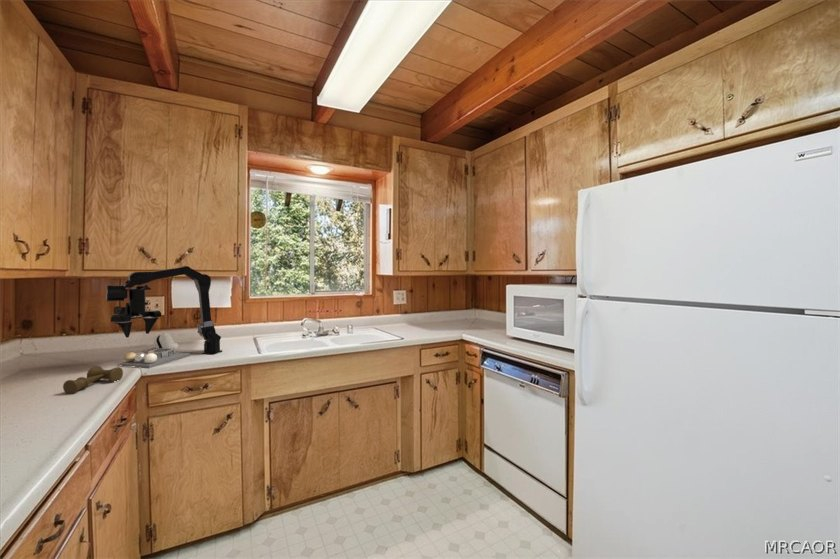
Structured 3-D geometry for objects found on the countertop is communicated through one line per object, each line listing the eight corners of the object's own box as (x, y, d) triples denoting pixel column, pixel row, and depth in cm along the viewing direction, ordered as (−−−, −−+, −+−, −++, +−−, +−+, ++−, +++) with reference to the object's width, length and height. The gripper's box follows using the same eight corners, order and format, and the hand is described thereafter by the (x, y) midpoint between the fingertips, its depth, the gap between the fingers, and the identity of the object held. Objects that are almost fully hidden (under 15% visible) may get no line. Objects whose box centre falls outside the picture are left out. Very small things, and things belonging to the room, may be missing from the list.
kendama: (55, 396, 120) (108, 375, 140) (82, 396, 119) (132, 376, 139) (54, 379, 119) (108, 361, 139) (81, 379, 119) (131, 361, 139)
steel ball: (149, 361, 156) (149, 351, 156) (140, 364, 152) (139, 354, 151) (141, 360, 157) (141, 351, 157) (131, 363, 152) (131, 353, 152)
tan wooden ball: (139, 360, 157) (139, 351, 157) (129, 363, 153) (129, 353, 152) (131, 360, 158) (131, 350, 158) (121, 363, 154) (121, 353, 153)
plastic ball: (159, 362, 155) (159, 352, 155) (150, 364, 150) (150, 354, 150) (151, 361, 156) (151, 351, 155) (142, 364, 151) (141, 354, 151)
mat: (190, 355, 170) (190, 353, 170) (149, 368, 150) (149, 365, 150) (163, 354, 173) (163, 351, 173) (119, 366, 153) (119, 363, 153)
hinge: (170, 353, 175) (162, 335, 174) (160, 357, 174) (151, 339, 172) (178, 346, 191) (170, 329, 189) (169, 349, 189) (161, 333, 187)
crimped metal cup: (180, 353, 170) (180, 348, 170) (161, 358, 160) (160, 353, 160) (163, 352, 172) (163, 347, 172) (142, 357, 162) (142, 352, 162)
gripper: (141, 298, 164) (141, 331, 165) (99, 301, 146) (99, 338, 146) (162, 298, 162) (162, 332, 163) (122, 302, 144) (122, 339, 144)
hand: (137, 335), depth 154 cm, fingers open, 9 cm apart
